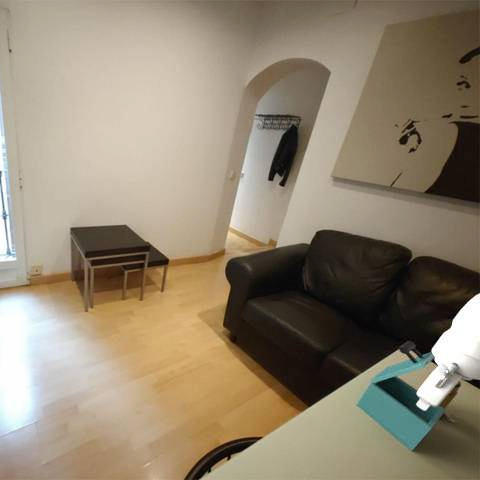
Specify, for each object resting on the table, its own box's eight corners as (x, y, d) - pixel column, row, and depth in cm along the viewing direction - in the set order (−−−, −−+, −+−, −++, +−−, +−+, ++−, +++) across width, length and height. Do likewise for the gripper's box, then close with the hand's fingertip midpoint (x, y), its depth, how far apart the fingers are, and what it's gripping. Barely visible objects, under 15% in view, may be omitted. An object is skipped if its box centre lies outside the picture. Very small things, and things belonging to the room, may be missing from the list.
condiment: (404, 392, 80) (425, 364, 75) (433, 399, 79) (456, 370, 75) (423, 416, 73) (447, 386, 69) (455, 423, 73) (482, 393, 68)
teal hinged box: (426, 431, 69) (445, 409, 66) (411, 451, 64) (431, 428, 60) (373, 390, 79) (387, 369, 75) (356, 405, 73) (370, 383, 70)
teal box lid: (438, 353, 66) (420, 334, 69) (424, 367, 61) (405, 346, 63) (389, 370, 75) (374, 352, 78) (372, 383, 70) (357, 364, 72)
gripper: (469, 386, 51) (430, 430, 57) (491, 354, 62) (457, 394, 67) (427, 361, 56) (395, 404, 62) (455, 336, 67) (425, 374, 72)
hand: (428, 399), depth 64 cm, fingers open, 8 cm apart
